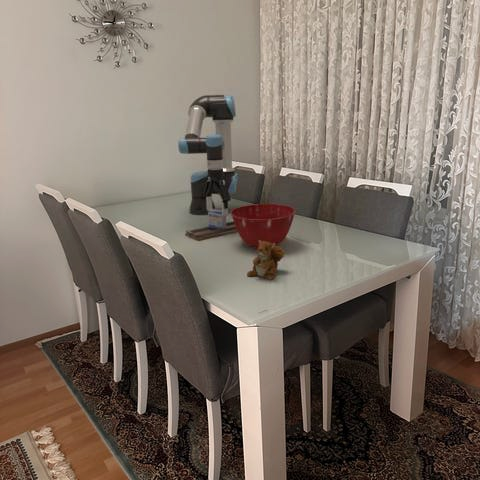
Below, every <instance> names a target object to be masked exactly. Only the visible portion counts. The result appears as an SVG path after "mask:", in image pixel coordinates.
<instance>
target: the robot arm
mask: <svg viewBox="0 0 480 480" xmlns="http://www.w3.org/2000/svg"><path fill="white" fill-rule="evenodd" d="M187 111H188V112H187V114H188V120H187V121H188V122H187V125H186V129H185V134H184V137H180V138H178V142H177V144H178V152H179V153H180V154H181V155H183V154H184V155H185V154H186V155H189V154H194V155H195V154H206V166H207V168H208V169H207V170H201V171H197V172H193V173H192V174H191V175H190V192H191V193H190V194H191V201H190V205H189V211H188V213H190V214H191V215H199V216H200V215H208V210H211V209H216V205H215V203H214V201H213V196H212V195H219V196H220V198H221V200H222V201H221V210H222V215H223V216H224V215H226V216H228V215H229V211H228V210H229V202H230V201H231V200H232V199H231V195H230V194H232V195H233V194H234V193H236V190H237V184H238V173H237V172H236V171H235V168H234V167H233V156H232V155H233V151H232V149H233V148H232V123H233V121H234V118H235V117H237V112H236V105H235V99H234V96H233V95H231V94H213V95H211V94H210V95H209V94H207V95H205V94H204V95H202V96H199V97H198V98H196V99H195V100H194V101H192V103H191V104H190V106H189V108H188V110H187ZM206 118H212V120H211V121H212V122H213V123H214V124H215V128H214V129H215V134H208V135H206V137H201V134H202V129H203V123H204V120H205V119H206Z"/></svg>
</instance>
